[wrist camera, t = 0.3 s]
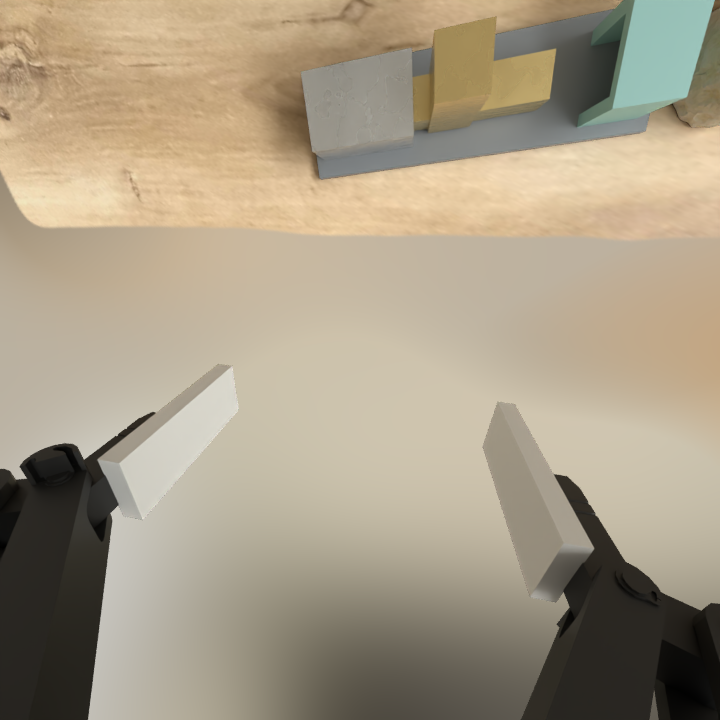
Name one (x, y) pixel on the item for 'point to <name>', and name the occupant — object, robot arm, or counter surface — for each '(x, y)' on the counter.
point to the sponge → (704, 81)
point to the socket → (649, 56)
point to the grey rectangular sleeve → (360, 105)
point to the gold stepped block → (477, 79)
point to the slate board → (524, 130)
